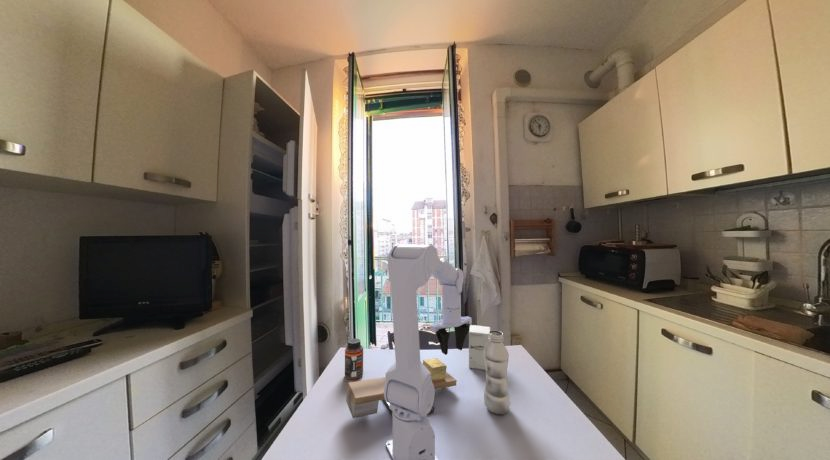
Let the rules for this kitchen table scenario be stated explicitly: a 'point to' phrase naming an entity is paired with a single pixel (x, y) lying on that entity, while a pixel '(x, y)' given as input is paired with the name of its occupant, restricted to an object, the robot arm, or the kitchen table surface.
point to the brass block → (435, 369)
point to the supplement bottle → (354, 359)
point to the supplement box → (477, 346)
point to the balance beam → (376, 394)
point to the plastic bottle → (496, 374)
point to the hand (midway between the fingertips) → (451, 351)
